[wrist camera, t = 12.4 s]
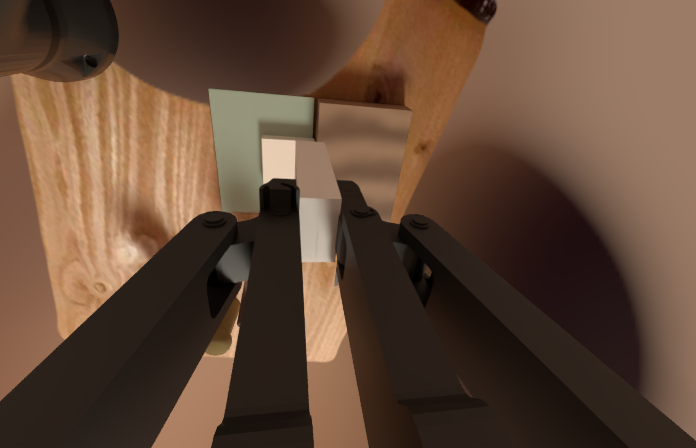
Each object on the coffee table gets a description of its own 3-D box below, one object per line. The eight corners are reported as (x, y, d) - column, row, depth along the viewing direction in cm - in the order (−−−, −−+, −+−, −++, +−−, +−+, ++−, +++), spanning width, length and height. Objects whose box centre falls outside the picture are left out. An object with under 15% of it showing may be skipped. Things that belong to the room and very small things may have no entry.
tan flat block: (317, 97, 47) (319, 102, 44) (404, 105, 50) (412, 110, 46) (311, 212, 57) (312, 223, 54) (383, 214, 60) (389, 224, 56)
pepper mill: (243, 313, 68) (235, 358, 58) (214, 317, 67) (202, 362, 58) (237, 293, 64) (228, 336, 55) (207, 296, 64) (193, 341, 54)
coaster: (262, 134, 48) (261, 138, 46) (314, 138, 50) (314, 141, 48) (264, 182, 52) (263, 187, 51) (311, 183, 54) (312, 188, 52)
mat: (208, 88, 44) (208, 88, 44) (314, 97, 47) (314, 98, 47) (222, 210, 54) (222, 211, 54) (308, 212, 57) (308, 213, 57)
